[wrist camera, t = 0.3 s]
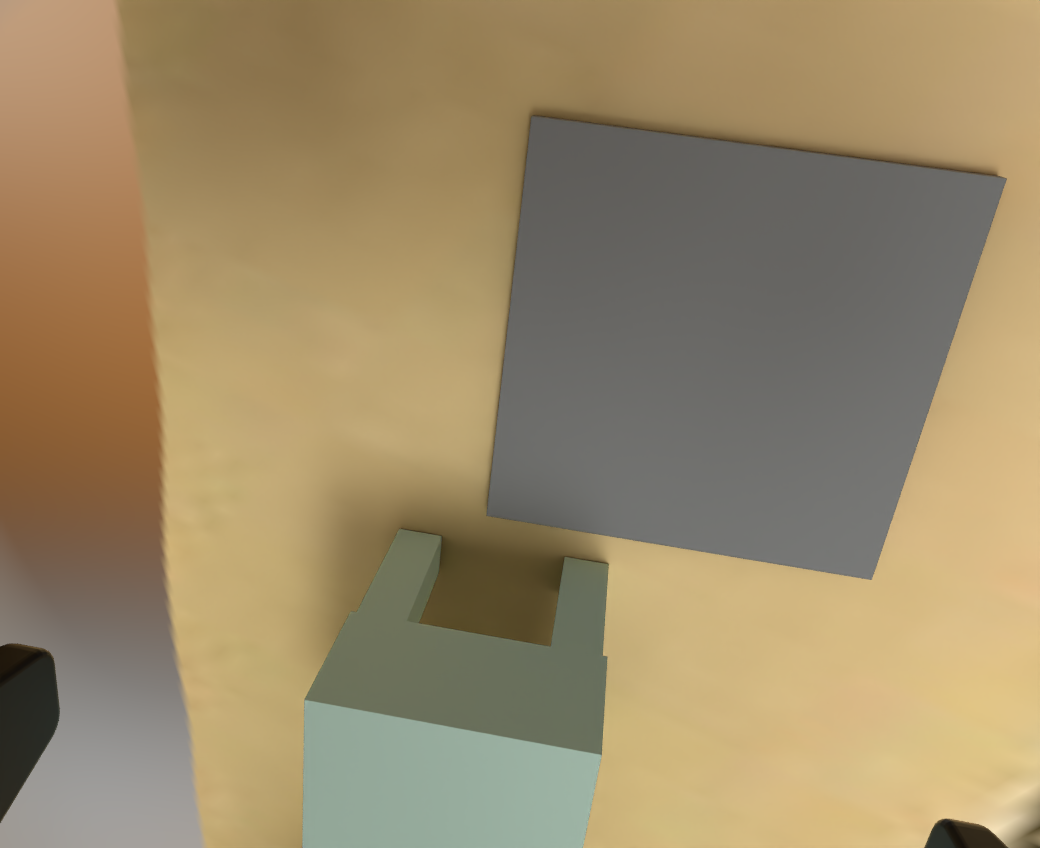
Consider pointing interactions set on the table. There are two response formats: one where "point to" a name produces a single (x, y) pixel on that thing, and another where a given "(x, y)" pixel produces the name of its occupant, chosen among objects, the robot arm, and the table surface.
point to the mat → (727, 340)
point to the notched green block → (454, 720)
